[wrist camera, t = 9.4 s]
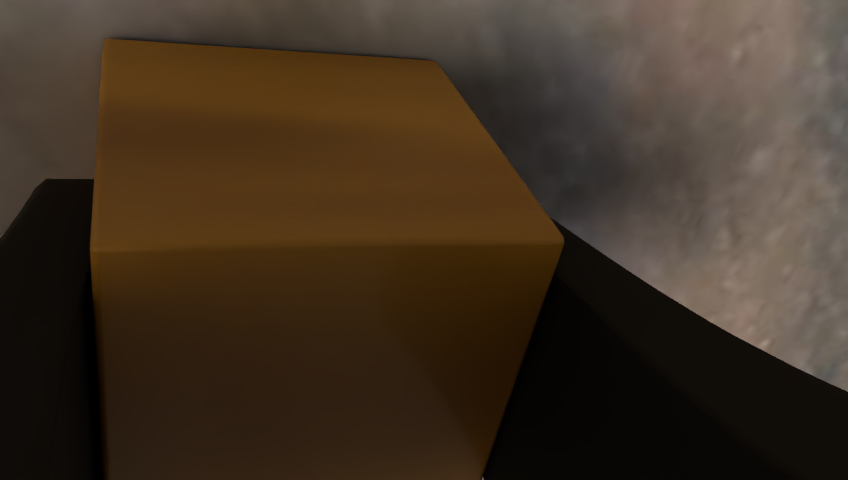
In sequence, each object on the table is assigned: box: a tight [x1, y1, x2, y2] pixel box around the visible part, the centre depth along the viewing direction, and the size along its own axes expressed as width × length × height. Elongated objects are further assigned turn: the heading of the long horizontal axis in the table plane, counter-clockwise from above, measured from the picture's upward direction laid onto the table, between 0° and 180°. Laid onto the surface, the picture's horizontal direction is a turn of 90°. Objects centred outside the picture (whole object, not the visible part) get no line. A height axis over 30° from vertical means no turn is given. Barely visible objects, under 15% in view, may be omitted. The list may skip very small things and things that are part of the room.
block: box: [90, 39, 564, 480], centre depth 9 cm, size 4×4×4 cm
